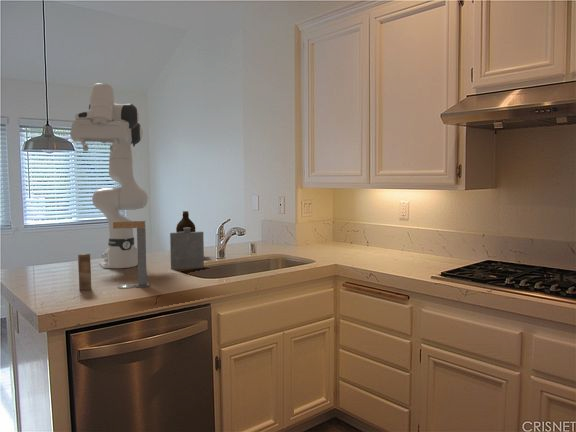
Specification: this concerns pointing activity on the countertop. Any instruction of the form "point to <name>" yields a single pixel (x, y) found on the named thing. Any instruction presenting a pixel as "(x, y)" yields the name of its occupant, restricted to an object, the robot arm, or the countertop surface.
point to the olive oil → (185, 223)
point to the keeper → (140, 249)
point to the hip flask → (187, 249)
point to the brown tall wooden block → (84, 272)
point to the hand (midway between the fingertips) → (98, 150)
